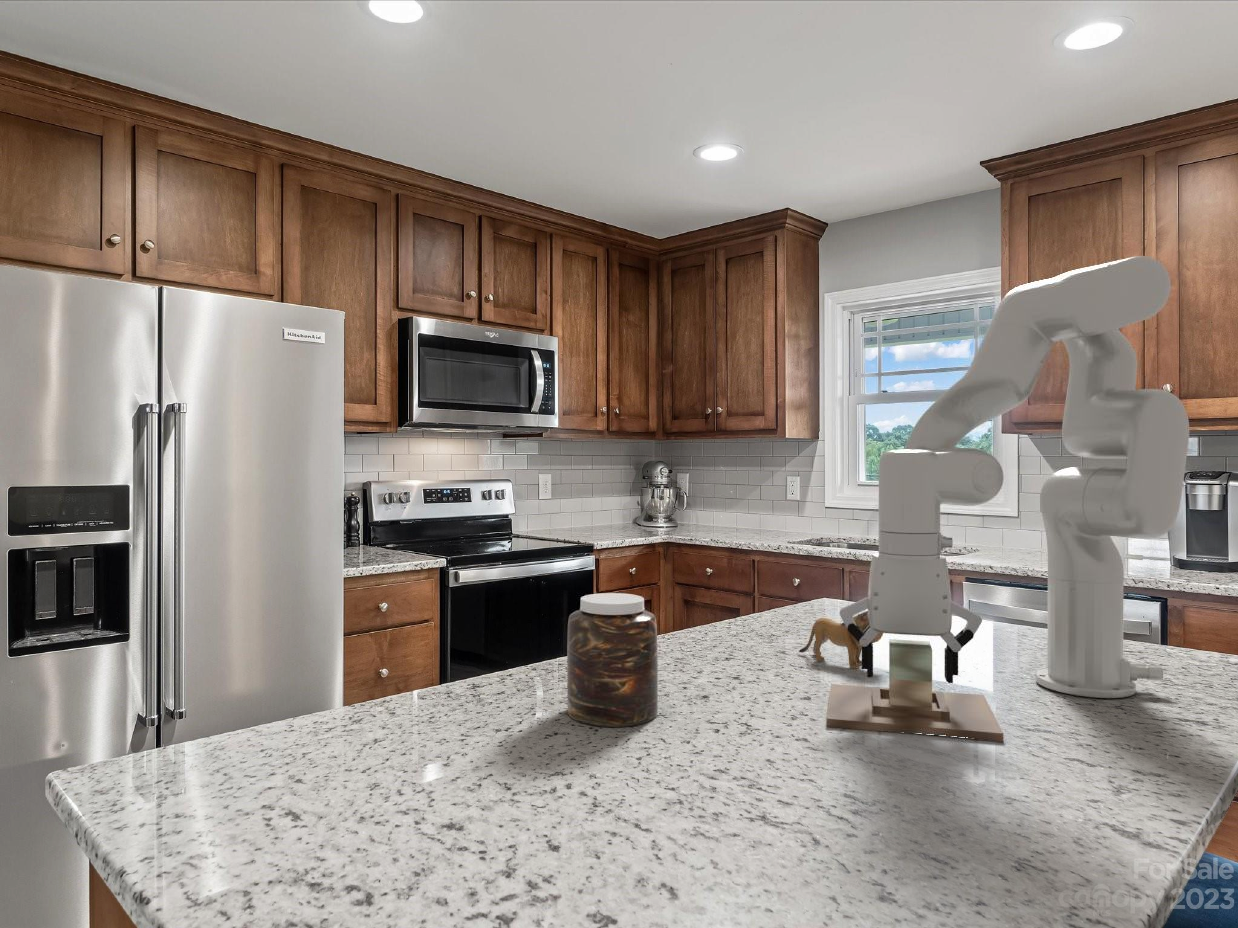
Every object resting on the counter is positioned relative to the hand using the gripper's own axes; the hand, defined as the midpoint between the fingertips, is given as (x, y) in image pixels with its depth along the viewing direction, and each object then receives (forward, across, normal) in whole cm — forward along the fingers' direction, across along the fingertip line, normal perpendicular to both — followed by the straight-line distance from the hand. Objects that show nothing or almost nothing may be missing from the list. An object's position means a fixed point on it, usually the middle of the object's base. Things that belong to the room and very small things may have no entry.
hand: (908, 677), depth 107 cm
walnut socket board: (+5, 0, 0) cm, 5 cm away
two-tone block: (+4, 0, 0) cm, 4 cm away
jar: (+5, +37, +10) cm, 39 cm away
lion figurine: (+5, +9, -25) cm, 27 cm away
